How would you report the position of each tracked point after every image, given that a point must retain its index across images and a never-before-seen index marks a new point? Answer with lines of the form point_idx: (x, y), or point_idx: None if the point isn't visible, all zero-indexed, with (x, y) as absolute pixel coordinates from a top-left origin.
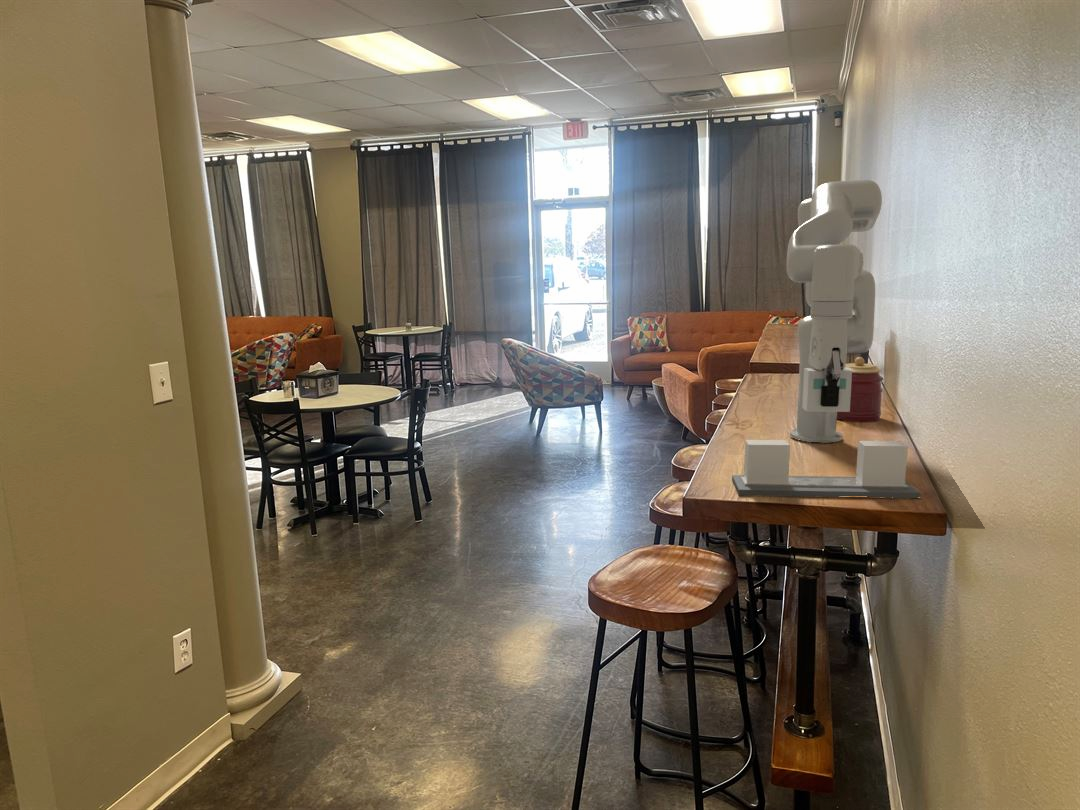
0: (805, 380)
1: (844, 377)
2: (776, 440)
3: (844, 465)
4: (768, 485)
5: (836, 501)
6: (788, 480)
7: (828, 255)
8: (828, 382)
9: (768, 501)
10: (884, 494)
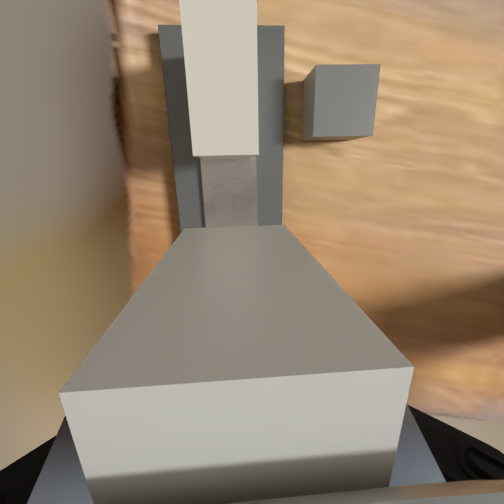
0: (253, 290)
1: None
2: (252, 120)
3: (386, 300)
4: None
5: (160, 241)
6: (233, 164)
7: None
8: (46, 447)
9: (132, 103)
10: None
